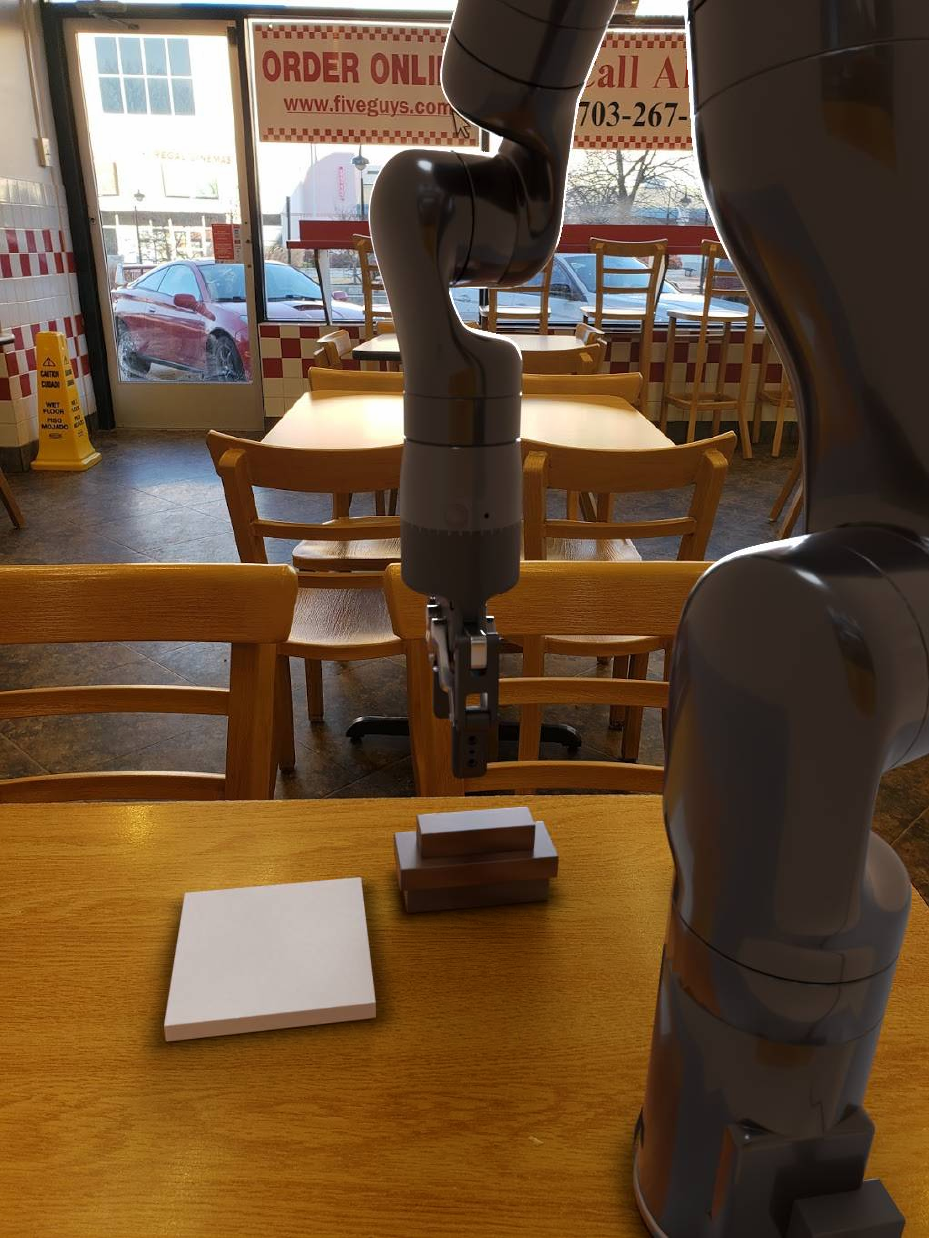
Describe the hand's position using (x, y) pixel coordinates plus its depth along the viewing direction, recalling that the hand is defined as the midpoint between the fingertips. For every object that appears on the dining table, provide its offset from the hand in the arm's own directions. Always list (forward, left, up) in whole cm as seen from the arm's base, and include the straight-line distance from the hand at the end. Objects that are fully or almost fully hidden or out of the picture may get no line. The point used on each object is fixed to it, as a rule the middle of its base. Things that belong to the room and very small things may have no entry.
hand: (458, 743), depth 64 cm
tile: (-6, +13, -11) cm, 18 cm away
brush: (-1, -1, -11) cm, 11 cm away
